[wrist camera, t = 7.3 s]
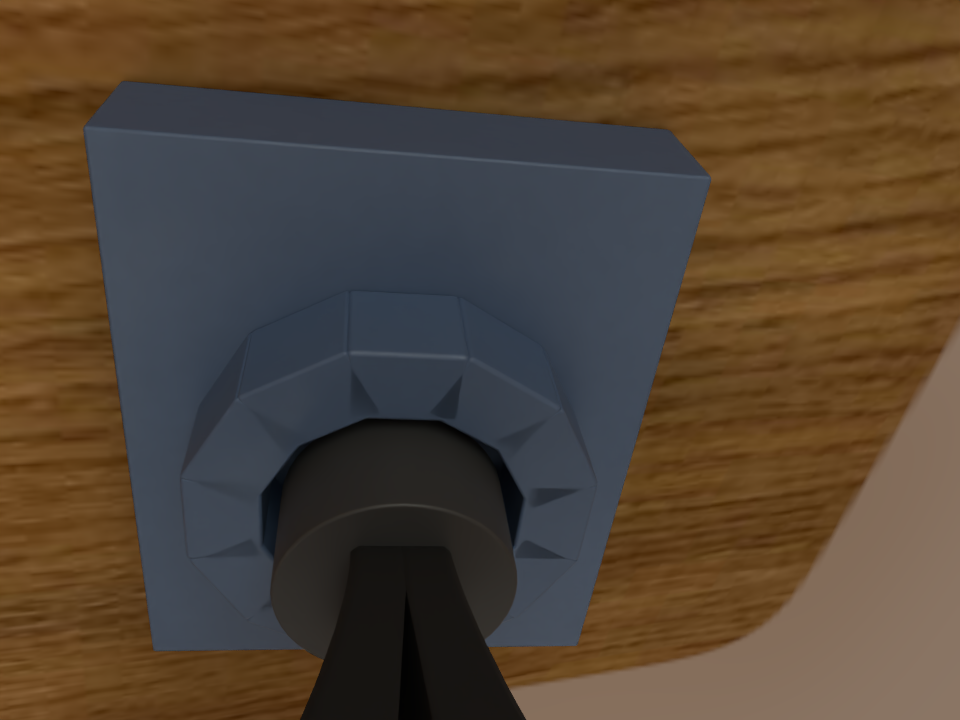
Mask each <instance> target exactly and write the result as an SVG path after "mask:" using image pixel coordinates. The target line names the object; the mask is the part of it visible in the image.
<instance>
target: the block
mask: <svg viewBox="0 0 960 720" xmlns="http://www.w3.org/2000/svg"><path fill="white" fill-rule="evenodd" d="M83 131H84V138H85V146H86V153H87V160H88V168H89V175H90V183H91V190H92V198H93V205H94V212H95V220H96V227H97V235H98V242H99V250H100V257H101V264H102V272H103V279H104V287H105V294H106V302H107V309H108V316H109V324H110V331H111V339H112V346H113V354H114V361H115V368H116V376H117V383H118V391H119V398H120V406H121V413H122V421H123V428H124V435H125V443H126V450H127V458H128V465H129V473H130V480H131V487H132V495H133V502H134V510H135V517H136V525H137V532H138V539H139V547H140V554H141V562H142V569H143V577H144V584H145V591H146V599H147V606H148V614H149V621H150V629H151V636H152V643H153V649H154V651H204V650H282V649H303V648H302V647H300V646H299V645H298V644H296V643H295V642H294V641H293V640H292V639H291V638H290V637H289V636H288V635H287V634H286V632H285V631H284V630H283V629H282V627H281V626H280V624H279V622H278V620H277V618H276V616H275V614H274V611H273V608H272V604H271V597H270V588H271V578H272V569H273V561H274V553H275V544H276V536H277V528H278V519H279V511H280V503H281V495H282V488H283V484H284V480H285V477H286V475H287V473H288V470H289V468H290V466H291V465H292V464H293V462H294V461H295V459H296V458H297V456H298V455H299V454H300V453H301V452H302V451H303V450H304V449H305V448H306V447H307V446H308V445H309V444H310V443H311V442H313V441H314V440H316V439H318V438H321V437H323V436H325V435H328V434H330V433H333V432H335V431H338V430H340V429H342V428H345V427H347V426H350V425H352V424H355V423H357V422H359V421H362V420H364V419H396V420H429V421H441V422H443V423H445V424H447V425H449V426H451V427H453V428H455V429H457V430H459V431H461V432H463V433H465V434H466V435H468V436H470V437H471V438H472V439H473V440H475V441H476V442H477V443H478V444H479V445H480V446H481V447H482V448H483V449H484V450H485V451H486V453H487V454H488V456H489V457H490V459H491V460H492V462H493V464H494V466H495V468H496V470H497V473H498V477H499V481H500V486H501V491H502V496H503V501H504V507H505V512H506V517H507V522H508V527H509V533H510V538H511V543H512V548H513V554H514V559H515V564H516V569H517V581H518V582H517V590H516V595H515V598H514V601H513V604H512V607H511V609H510V611H509V613H508V615H507V616H506V617H505V619H504V620H503V622H502V623H501V625H500V626H499V627H498V628H497V629H496V630H495V631H494V632H493V633H492V634H491V635H490V636H489V637H487V638H486V639H485V642H486V644H487V646H488V647H516V646H576V645H577V644H578V641H579V637H580V634H581V630H582V627H583V623H584V620H585V616H586V613H587V610H588V606H589V603H590V599H591V596H592V592H593V589H594V585H595V582H596V578H597V575H598V571H599V568H600V564H601V561H602V557H603V554H604V550H605V547H606V543H607V540H608V537H609V533H610V530H611V526H612V523H613V519H614V516H615V512H616V509H617V505H618V502H619V498H620V495H621V491H622V488H623V484H624V481H625V477H626V474H627V470H628V467H629V464H630V460H631V457H632V453H633V450H634V446H635V443H636V439H637V436H638V432H639V429H640V425H641V422H642V418H643V415H644V411H645V408H646V404H647V401H648V397H649V394H650V391H651V387H652V384H653V380H654V377H655V373H656V370H657V366H658V363H659V359H660V356H661V352H662V349H663V345H664V342H665V338H666V335H667V331H668V328H669V325H670V321H671V318H672V314H673V311H674V307H675V304H676V300H677V297H678V293H679V290H680V286H681V283H682V279H683V276H684V272H685V269H686V265H687V262H688V258H689V255H690V252H691V248H692V245H693V241H694V238H695V234H696V231H697V227H698V224H699V220H700V217H701V213H702V210H703V206H704V203H705V199H706V196H707V192H708V189H709V185H710V182H711V177H710V175H709V174H708V173H707V172H706V171H705V170H704V169H703V168H702V166H701V165H700V164H699V163H698V162H697V161H696V160H695V158H694V157H693V156H692V155H691V154H690V153H689V152H688V151H687V149H686V148H685V147H684V146H683V145H682V144H681V143H680V142H679V140H678V139H677V138H676V137H675V136H674V135H673V134H672V132H671V131H669V130H664V129H653V128H641V127H630V126H619V125H608V124H597V123H586V122H574V121H563V120H552V119H541V118H530V117H519V116H508V115H496V114H485V113H474V112H463V111H452V110H441V109H429V108H418V107H407V106H396V105H385V104H374V103H362V102H351V101H340V100H329V99H318V98H307V97H296V96H284V95H273V94H262V93H251V92H240V91H229V90H217V89H206V88H195V87H184V86H173V85H162V84H150V83H139V82H128V81H123V82H121V83H120V84H119V85H118V86H117V88H116V89H115V90H114V91H113V92H112V93H111V95H110V96H109V97H108V98H107V99H106V101H105V102H104V103H103V104H102V105H101V107H100V108H99V109H98V110H97V111H96V113H95V114H94V115H93V116H92V117H91V119H90V120H89V121H88V122H87V123H86V125H85V126H84V128H83Z"/></svg>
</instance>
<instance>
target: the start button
mask: <svg viewBox="0 0 960 720" xmlns="http://www.w3.org/2000/svg"><path fill="white" fill-rule="evenodd" d="M358 546H444V547H445V548H447V549H448V550H449V551H450V552H451V555H452V559H453V562H454V565H455V568H456V571H457V574H458V577H459V580H460V583H461V586H462V588H463V591H464V593H465V596H466V599H467V601H468V604H469V606H470V608H471V611H472V613H473V615H474V618H475V620H476V622H477V625H478V627H479V629H480V631H481V633H482V636H483V638H484V640H485V639H486V638H487V637H489V636H490V635H491V634H492V633H493V632H494V631H495V630H496V629H497V628H498V627H499V626H500V625H501V623H502V622H503V620H504V619H505V617H506V616H507V615H508V613H509V611H510V609H511V607H512V604H513V601H514V598H515V595H516V590H517V582H518V581H517V569H516V564H515V559H514V554H513V548H512V543H511V538H510V533H509V527H508V522H507V517H506V512H505V507H504V501H503V496H502V491H501V486H500V481H499V477H498V473H497V470H496V468H495V466H494V464H493V462H492V460H491V459H490V457H489V456H488V454H487V453H486V451H485V450H484V449H483V448H482V447H481V446H480V445H479V444H478V443H477V442H476V441H475V440H473V439H472V438H471V437H470V436H468V435H466V434H465V433H463V432H461V431H459V430H457V429H455V428H453V427H451V426H449V425H447V424H445V423H443V422H441V421H429V420H396V419H364V420H362V421H359V422H357V423H355V424H352V425H350V426H347V427H345V428H342V429H340V430H338V431H335V432H333V433H330V434H328V435H325V436H323V437H321V438H318V439H316V440H314V441H313V442H311V443H310V444H309V445H308V446H307V447H306V448H305V449H304V450H303V451H302V452H301V453H300V454H299V455H298V456H297V458H296V459H295V461H294V462H293V464H292V465H291V466H290V468H289V470H288V473H287V475H286V477H285V480H284V484H283V488H282V495H281V503H280V511H279V519H278V528H277V536H276V544H275V553H274V561H273V569H272V578H271V588H270V597H271V604H272V608H273V611H274V614H275V616H276V618H277V620H278V622H279V624H280V626H281V627H282V629H283V630H284V631H285V632H286V634H287V635H288V636H289V637H290V638H291V639H292V640H293V641H294V642H295V643H296V644H298V645H299V646H300V647H302V648H303V649H305V650H306V651H307V652H309V653H311V654H313V655H315V656H317V657H318V658H321V659H323V660H324V659H325V656H326V653H327V650H328V647H329V644H330V642H331V639H332V636H333V633H334V630H335V627H336V623H337V620H338V616H339V613H340V609H341V606H342V602H343V598H344V594H345V590H346V585H347V580H348V574H349V568H350V555H351V551H352V550H354V549H355V548H357V547H358Z"/></svg>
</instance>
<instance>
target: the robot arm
mask: <svg viewBox="0 0 960 720" xmlns="http://www.w3.org/2000/svg"><path fill="white" fill-rule="evenodd" d="M300 720H526V719H525V717H524V715H523V713H522V712H521V710H520V708H519V706H518V705H517V703H516V701H515V699H514V697H513V695H512V693H511V692H510V690H509V688H508V686H507V684H506V682H505V680H504V678H503V676H502V674H501V672H500V670H499V668H498V666H497V664H496V662H495V660H494V658H493V656H492V654H491V652H490V650H489V648H488V646H487V644H486V642H485V640H484V638H483V636H482V633H481V631H480V629H479V627H478V625H477V622H476V620H475V618H474V615H473V613H472V611H471V608H470V606H469V604H468V601H467V599H466V596H465V593H464V591H463V588H462V586H461V583H460V580H459V577H458V574H457V571H456V568H455V565H454V562H453V559H452V555H451V552H450V551H449V550H448V549H447V548H445V547H444V546H358V547H357V548H355V549H354V550H352V551H351V555H350V568H349V574H348V580H347V585H346V590H345V594H344V598H343V602H342V606H341V609H340V613H339V616H338V620H337V623H336V627H335V630H334V633H333V636H332V639H331V642H330V644H329V647H328V650H327V653H326V656H325V659H324V662H323V665H322V667H321V670H320V673H319V676H318V678H317V681H316V683H315V686H314V688H313V691H312V693H311V695H310V698H309V700H308V702H307V705H306V707H305V710H304V712H303V714H302V717H301V719H300Z"/></svg>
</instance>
